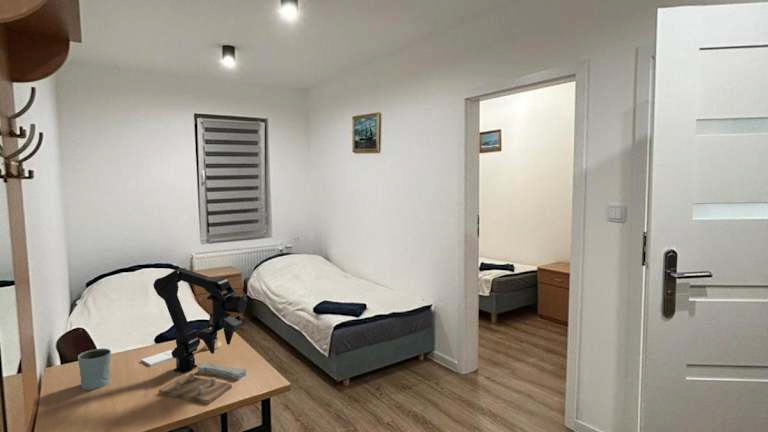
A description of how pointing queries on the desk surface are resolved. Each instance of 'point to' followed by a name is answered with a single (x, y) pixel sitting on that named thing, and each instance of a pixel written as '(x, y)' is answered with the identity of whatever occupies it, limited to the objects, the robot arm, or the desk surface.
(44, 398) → the desk surface
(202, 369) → the grey i-beam piece
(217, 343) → the hand bell
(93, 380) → the grey-blue cup
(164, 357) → the external hard drive
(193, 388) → the peg board
